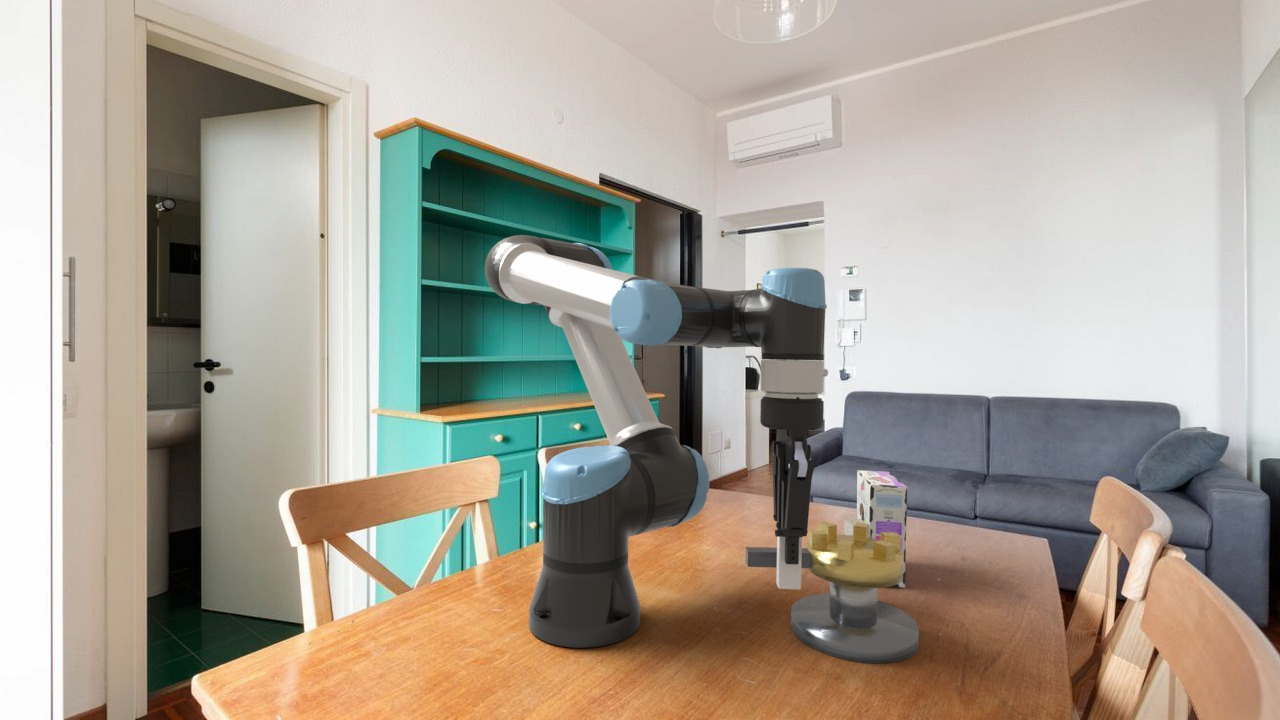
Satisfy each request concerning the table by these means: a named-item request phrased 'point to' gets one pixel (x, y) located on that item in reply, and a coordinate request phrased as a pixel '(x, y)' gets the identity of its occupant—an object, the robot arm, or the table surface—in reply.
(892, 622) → the nut base
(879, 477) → the candy box
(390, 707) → the table surface
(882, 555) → the gold studded disc
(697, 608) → the table surface
